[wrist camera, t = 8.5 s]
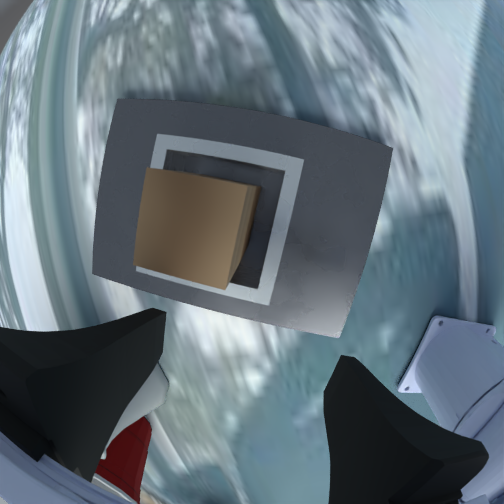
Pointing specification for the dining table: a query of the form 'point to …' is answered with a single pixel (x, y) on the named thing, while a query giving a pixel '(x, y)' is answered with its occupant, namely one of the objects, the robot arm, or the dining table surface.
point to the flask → (143, 402)
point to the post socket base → (267, 212)
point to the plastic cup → (125, 462)
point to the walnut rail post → (194, 225)
